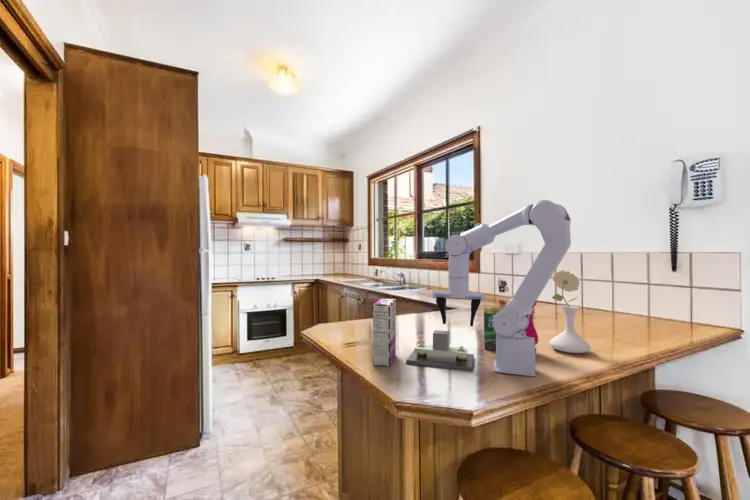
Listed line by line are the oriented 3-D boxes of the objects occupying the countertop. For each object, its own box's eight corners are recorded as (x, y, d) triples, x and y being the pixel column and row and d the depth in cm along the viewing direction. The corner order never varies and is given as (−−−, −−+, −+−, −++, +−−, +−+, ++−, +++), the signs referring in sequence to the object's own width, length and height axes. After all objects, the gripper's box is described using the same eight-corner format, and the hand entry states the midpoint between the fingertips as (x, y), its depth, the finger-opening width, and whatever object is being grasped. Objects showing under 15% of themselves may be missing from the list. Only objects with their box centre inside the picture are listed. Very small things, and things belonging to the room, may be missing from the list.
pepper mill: (543, 356, 104) (543, 288, 104) (519, 356, 103) (520, 288, 103) (530, 349, 111) (531, 285, 111) (508, 349, 110) (508, 285, 110)
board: (467, 352, 98) (467, 332, 98) (466, 357, 93) (466, 336, 93) (417, 347, 102) (418, 328, 102) (414, 351, 97) (414, 331, 97)
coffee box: (482, 349, 110) (483, 307, 110) (484, 347, 113) (485, 306, 113) (510, 353, 106) (510, 309, 106) (511, 351, 109) (512, 308, 109)
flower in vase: (600, 355, 105) (601, 271, 106) (568, 357, 103) (569, 271, 103) (566, 343, 118) (567, 269, 118) (537, 345, 115) (538, 269, 115)
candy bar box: (379, 353, 104) (380, 298, 104) (396, 354, 103) (396, 298, 103) (371, 365, 93) (372, 303, 93) (390, 367, 92) (390, 304, 92)
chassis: (473, 357, 101) (474, 342, 101) (471, 371, 90) (471, 353, 90) (415, 351, 106) (415, 336, 106) (406, 363, 95) (406, 347, 95)
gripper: (431, 277, 100) (430, 325, 100) (484, 279, 95) (483, 329, 95) (434, 275, 107) (434, 320, 107) (485, 277, 102) (484, 324, 102)
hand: (457, 324), depth 101 cm, fingers open, 7 cm apart
